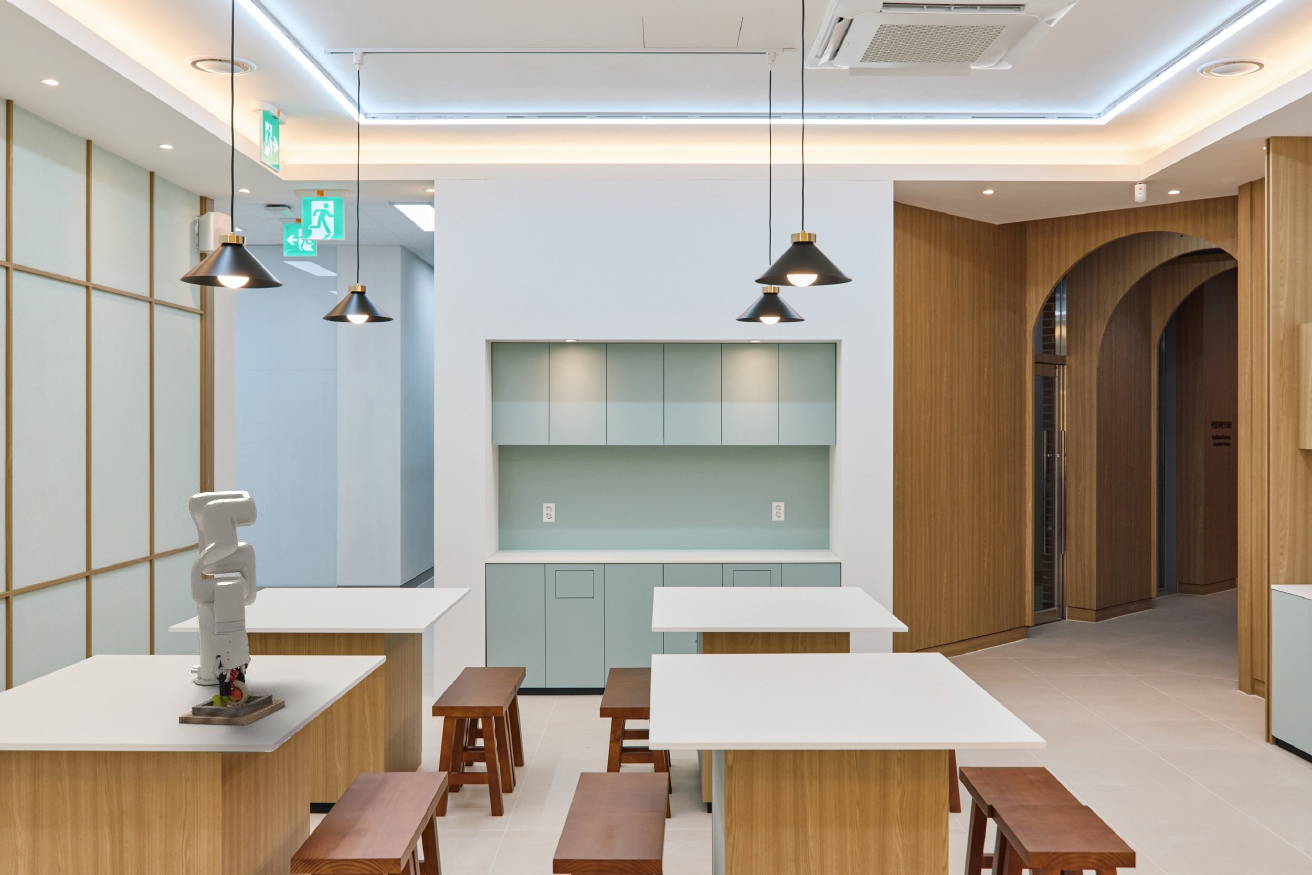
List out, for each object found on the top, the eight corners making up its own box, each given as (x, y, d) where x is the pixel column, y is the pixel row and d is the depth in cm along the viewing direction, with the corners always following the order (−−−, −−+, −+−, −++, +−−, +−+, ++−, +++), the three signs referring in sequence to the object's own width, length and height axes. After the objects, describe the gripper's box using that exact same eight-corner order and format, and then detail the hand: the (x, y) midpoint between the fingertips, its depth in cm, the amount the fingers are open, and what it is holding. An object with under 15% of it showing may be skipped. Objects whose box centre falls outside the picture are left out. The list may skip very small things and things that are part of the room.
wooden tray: (178, 722, 240) (178, 709, 240) (222, 703, 256) (221, 690, 256) (245, 724, 235) (244, 711, 235) (284, 705, 252) (284, 692, 252)
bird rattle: (245, 712, 249) (215, 700, 249) (261, 675, 249) (231, 662, 249) (235, 718, 242) (204, 705, 242) (251, 680, 243) (221, 667, 243)
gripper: (238, 619, 255) (240, 683, 255) (196, 633, 238) (198, 701, 238) (262, 619, 253) (264, 684, 253) (221, 633, 237) (223, 702, 237)
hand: (232, 692), depth 246 cm, fingers open, 5 cm apart
